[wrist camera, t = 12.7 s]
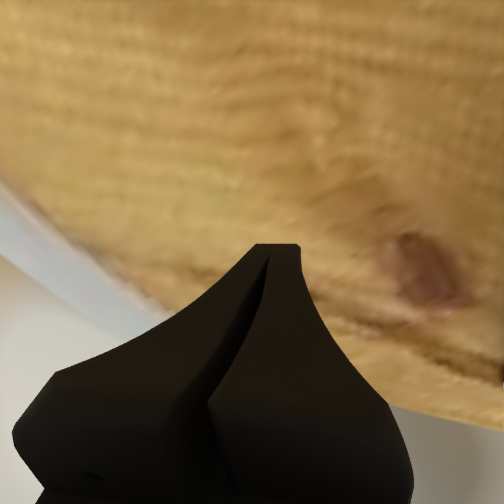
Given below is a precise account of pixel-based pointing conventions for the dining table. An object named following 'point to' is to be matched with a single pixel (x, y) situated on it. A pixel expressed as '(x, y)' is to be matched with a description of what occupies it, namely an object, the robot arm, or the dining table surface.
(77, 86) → the dining table surface
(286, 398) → the robot arm
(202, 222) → the dining table surface
